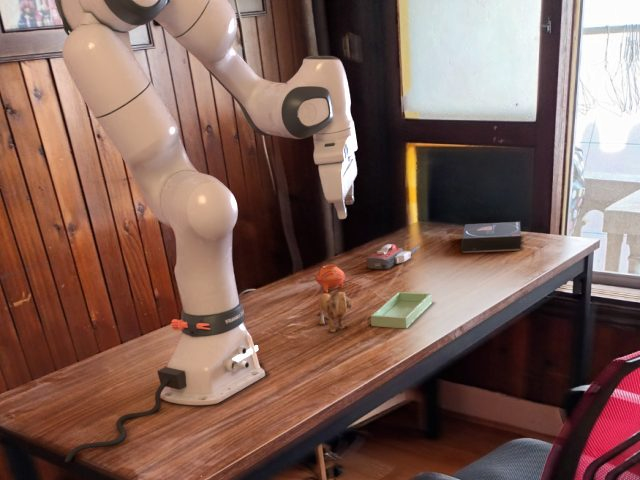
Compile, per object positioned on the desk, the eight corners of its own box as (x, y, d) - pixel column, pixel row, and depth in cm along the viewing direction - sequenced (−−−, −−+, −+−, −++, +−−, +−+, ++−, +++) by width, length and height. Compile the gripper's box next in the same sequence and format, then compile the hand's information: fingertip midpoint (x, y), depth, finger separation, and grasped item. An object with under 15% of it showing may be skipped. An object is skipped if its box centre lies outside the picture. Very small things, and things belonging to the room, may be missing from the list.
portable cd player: (463, 238, 231) (463, 224, 229) (519, 235, 228) (520, 221, 226) (460, 252, 217) (460, 238, 215) (520, 250, 215) (520, 235, 212)
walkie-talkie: (392, 271, 207) (422, 251, 221) (390, 255, 204) (421, 236, 219) (364, 269, 211) (395, 250, 225) (362, 253, 208) (394, 235, 222)
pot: (308, 290, 198) (309, 263, 195) (331, 289, 203) (333, 263, 200) (326, 294, 193) (328, 267, 190) (350, 293, 198) (352, 267, 195)
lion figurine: (358, 330, 171) (355, 291, 166) (338, 336, 169) (334, 297, 164) (326, 315, 181) (322, 277, 176) (307, 320, 179) (302, 283, 174)
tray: (406, 328, 170) (405, 318, 168) (371, 326, 173) (370, 315, 171) (431, 303, 182) (431, 293, 181) (398, 301, 186) (398, 291, 184)
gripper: (330, 132, 166) (340, 197, 174) (311, 158, 150) (324, 227, 159) (357, 129, 165) (367, 194, 173) (342, 154, 149) (353, 225, 158)
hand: (346, 210), depth 166 cm, fingers open, 8 cm apart
